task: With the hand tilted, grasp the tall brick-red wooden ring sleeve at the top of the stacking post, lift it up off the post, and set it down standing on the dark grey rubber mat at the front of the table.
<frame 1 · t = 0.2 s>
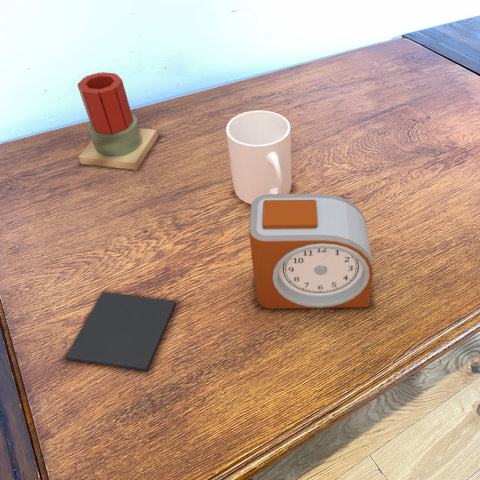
mug: (267, 193, 83), on the table
alarm clock: (311, 286, 70), on the table
mat: (124, 330, 64), on the table
ring stand: (120, 149, 90), on the table
ring sleeve: (112, 123, 86), point 5 cm above the table, touching ring stand
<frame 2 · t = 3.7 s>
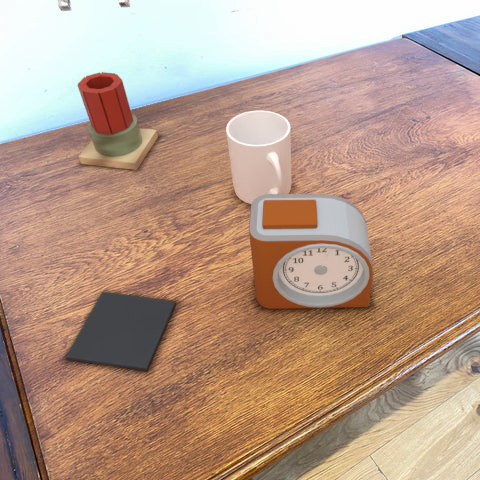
hand: (95, 7, 85), 20 cm above the table, tool tilted 45°, fingers open, 8 cm apart
nothing on the table moved.
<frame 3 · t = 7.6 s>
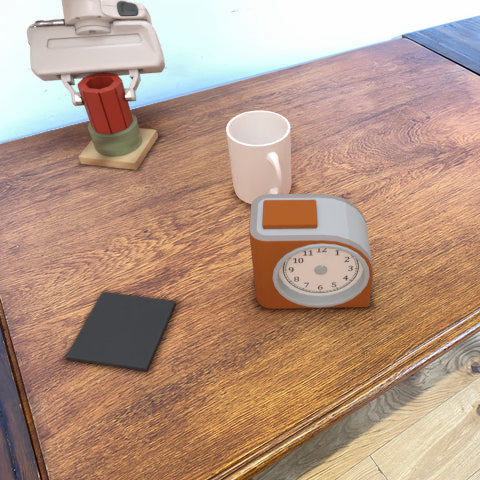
hand: (105, 102, 83), 10 cm above the table, tool tilted 45°, fingers closed on ring sleeve, 7 cm apart
ring sleeve: (112, 123, 86), point 6 cm above the table, touching gripper, ring stand
everything else where it was.
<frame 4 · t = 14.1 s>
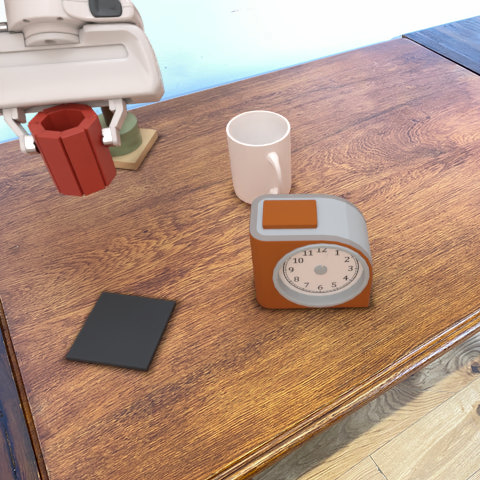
hand: (73, 150, 54), 22 cm above the table, tool tilted 45°, fingers closed on ring sleeve, 7 cm apart
ring sleeve: (85, 177, 58), point 17 cm above the table, touching gripper
everything else where it was.
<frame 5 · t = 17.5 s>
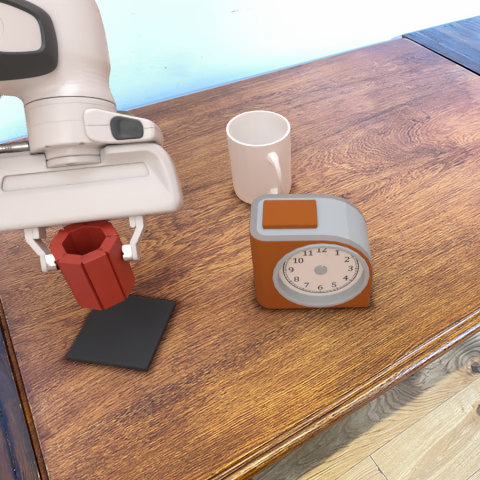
hand: (93, 265, 54), 13 cm above the table, tool tilted 45°, fingers closed on ring sleeve, 7 cm apart
ring sleeve: (104, 286, 58), point 9 cm above the table, touching gripper
everything else where it was.
when the fingers open (5 cm above the table, at t = 20.4 s): ring sleeve stays where it is, resting on mat.
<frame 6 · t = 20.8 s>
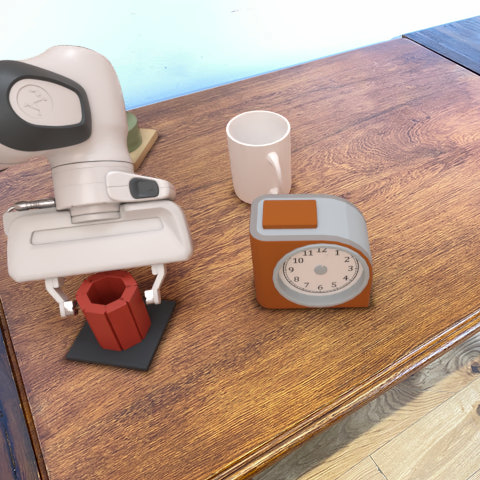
hand: (112, 310, 60), 5 cm above the table, tool tilted 45°, fingers open, 8 cm apart
ring sleeve: (123, 328, 64), point 1 cm above the table, touching mat
everything else where it was.
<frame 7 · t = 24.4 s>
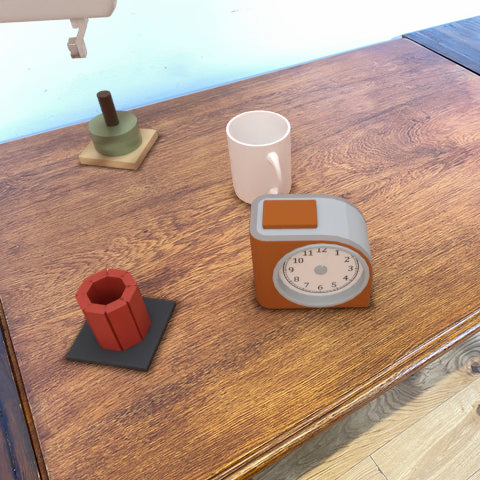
hand: (35, 59, 57), 27 cm above the table, tool pointing down, fingers open, 8 cm apart
nothing on the table moved.
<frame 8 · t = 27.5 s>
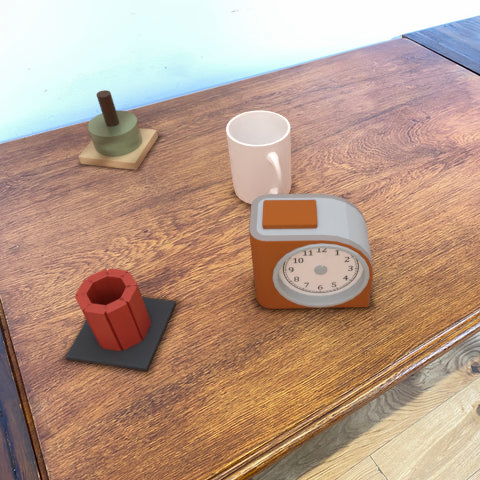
nothing on the table moved.
at the end: ring sleeve inside the target area on the mat (0.0 cm from its centre), point 0.6 cm above the mat's base; ring sleeve tilted 0°; the gripper is holding nothing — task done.
